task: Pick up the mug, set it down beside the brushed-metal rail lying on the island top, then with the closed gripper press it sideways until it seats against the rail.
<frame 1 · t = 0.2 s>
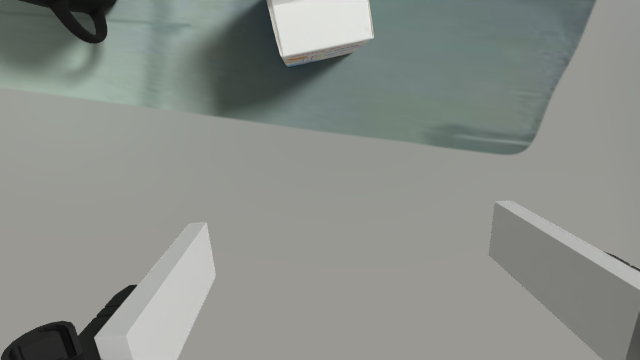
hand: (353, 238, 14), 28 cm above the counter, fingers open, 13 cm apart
ink box: (312, 23, 37), on the counter
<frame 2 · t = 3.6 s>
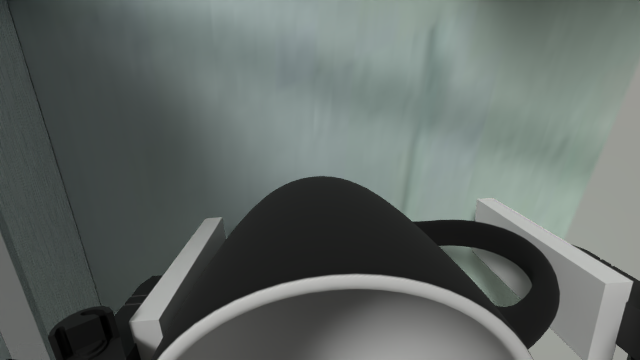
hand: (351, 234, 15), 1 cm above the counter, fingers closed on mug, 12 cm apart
mug: (346, 227, 16), on the counter, touching gripper
rail: (59, 223, 15), on the counter
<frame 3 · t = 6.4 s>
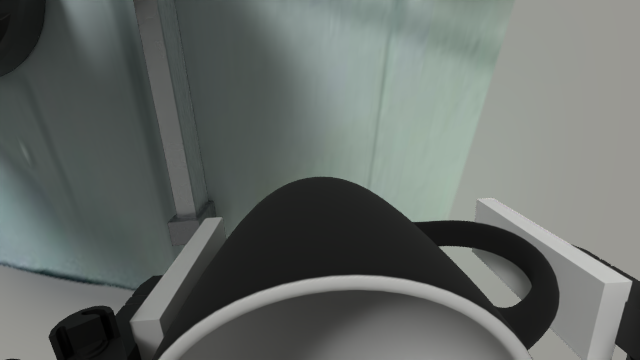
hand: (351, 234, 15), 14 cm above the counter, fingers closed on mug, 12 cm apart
mug: (346, 228, 16), point 13 cm above the counter, touching gripper
rail: (180, 89, 26), on the counter
when the fingers open (2 cm above the counter, at t = 9.1 s): mug moves 1 cm, on the counter.
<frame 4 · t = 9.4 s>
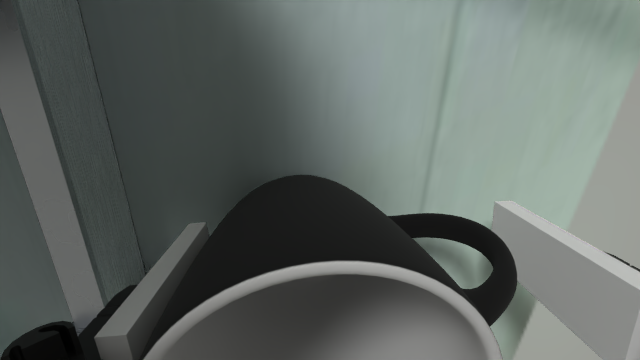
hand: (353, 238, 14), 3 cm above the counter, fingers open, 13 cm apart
mug: (325, 224, 17), on the counter, touching gripper
rail: (84, 95, 15), on the counter
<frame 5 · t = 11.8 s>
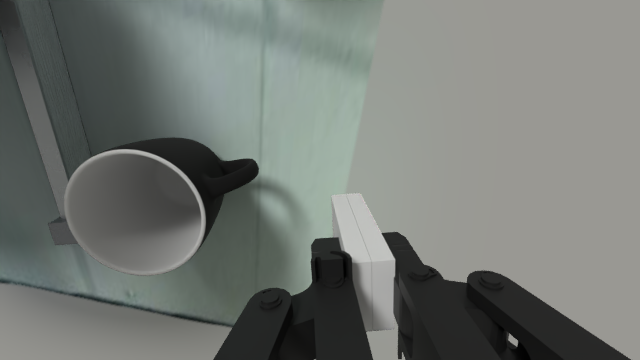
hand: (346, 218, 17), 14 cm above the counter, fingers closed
mug: (205, 169, 30), on the counter
rail: (65, 96, 27), on the counter
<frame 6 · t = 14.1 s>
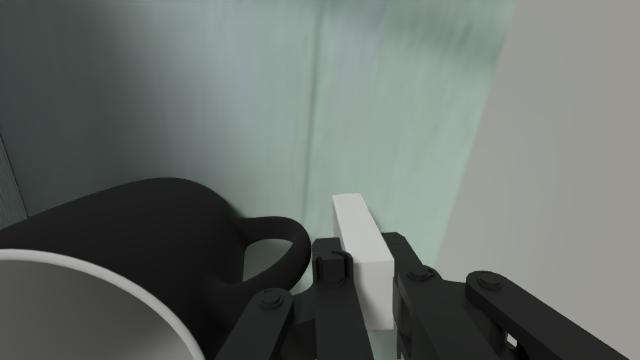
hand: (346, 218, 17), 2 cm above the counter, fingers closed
mug: (209, 223, 18), on the counter, touching gripper
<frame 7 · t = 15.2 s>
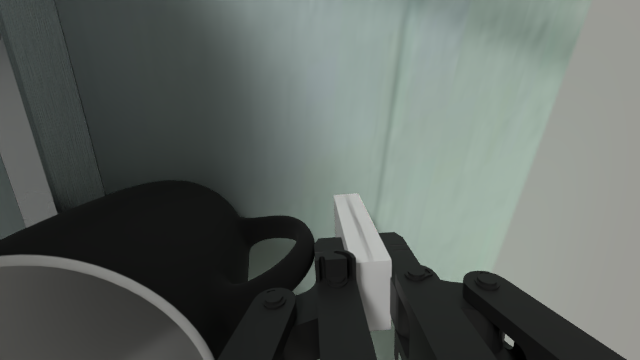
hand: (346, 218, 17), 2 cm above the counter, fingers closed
mug: (213, 225, 19), on the counter, touching gripper, rail
rail: (63, 97, 16), on the counter
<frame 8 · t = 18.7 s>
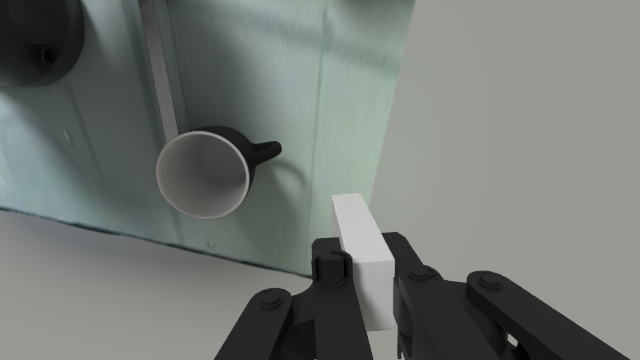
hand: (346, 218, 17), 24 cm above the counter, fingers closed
mug: (239, 151, 40), on the counter
rail: (176, 91, 37), on the counter
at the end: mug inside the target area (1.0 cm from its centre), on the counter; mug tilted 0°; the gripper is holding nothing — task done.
